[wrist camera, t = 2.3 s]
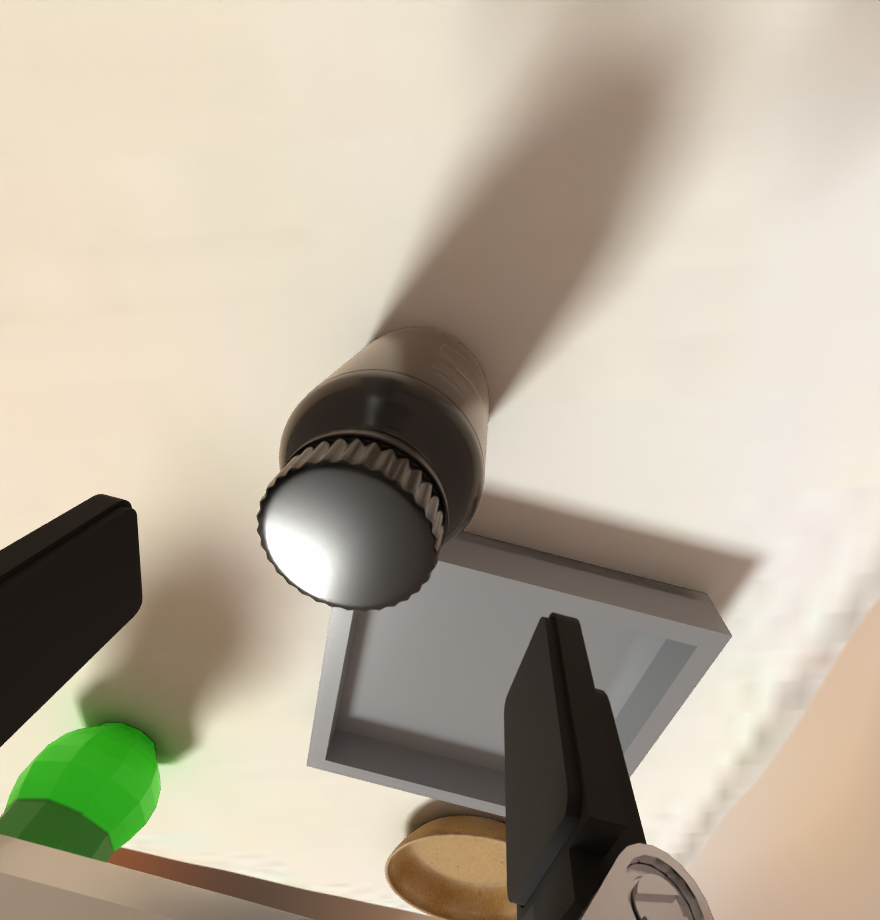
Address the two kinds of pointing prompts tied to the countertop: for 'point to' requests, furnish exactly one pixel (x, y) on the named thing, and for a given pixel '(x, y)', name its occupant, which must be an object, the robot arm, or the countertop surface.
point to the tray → (497, 666)
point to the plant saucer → (454, 869)
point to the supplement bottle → (378, 471)
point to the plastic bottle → (86, 792)
